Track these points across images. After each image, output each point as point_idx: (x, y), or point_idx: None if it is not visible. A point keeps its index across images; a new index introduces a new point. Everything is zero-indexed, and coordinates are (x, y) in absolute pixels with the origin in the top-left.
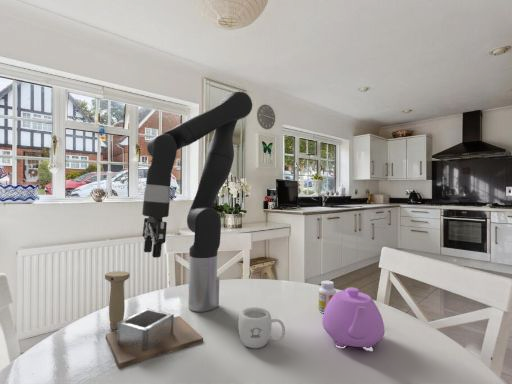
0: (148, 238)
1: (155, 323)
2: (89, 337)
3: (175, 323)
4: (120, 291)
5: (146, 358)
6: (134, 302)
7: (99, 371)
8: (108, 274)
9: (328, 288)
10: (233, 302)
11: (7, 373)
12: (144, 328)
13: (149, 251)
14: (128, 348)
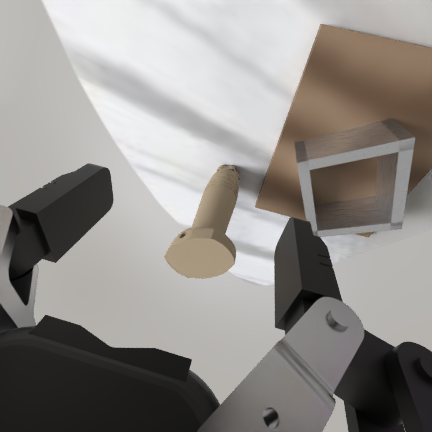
0: (29, 255)
1: (400, 201)
2: (234, 215)
3: (353, 75)
4: (227, 225)
5: None
6: (104, 71)
7: (345, 246)
8: (189, 272)
9: None
10: None
11: (253, 283)
12: (392, 225)
13: (107, 179)
14: None
